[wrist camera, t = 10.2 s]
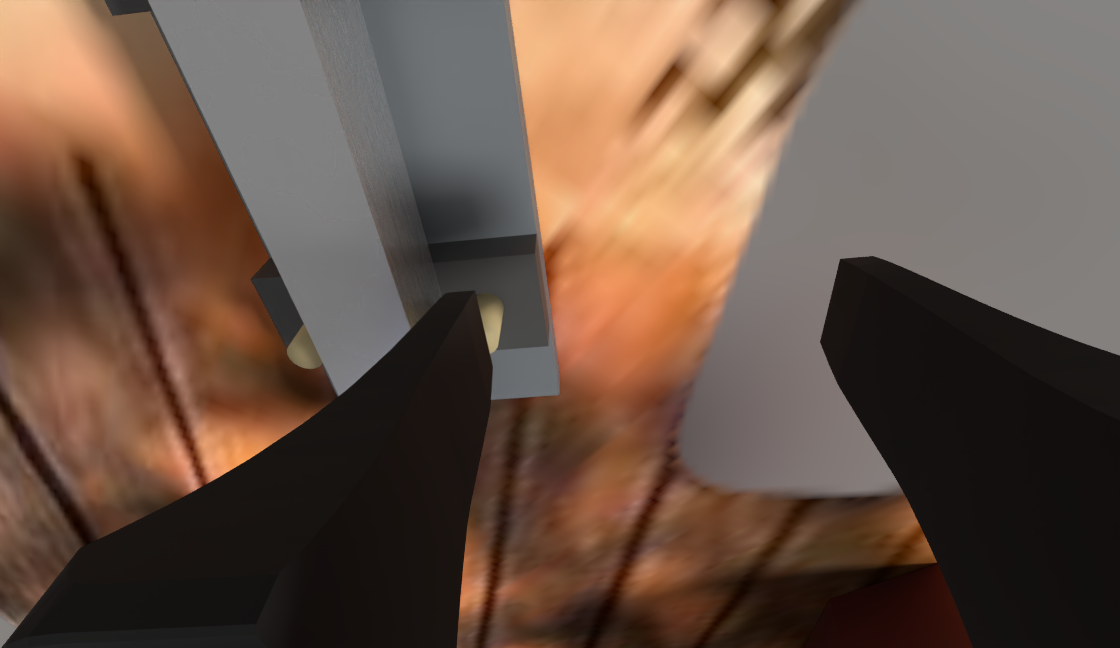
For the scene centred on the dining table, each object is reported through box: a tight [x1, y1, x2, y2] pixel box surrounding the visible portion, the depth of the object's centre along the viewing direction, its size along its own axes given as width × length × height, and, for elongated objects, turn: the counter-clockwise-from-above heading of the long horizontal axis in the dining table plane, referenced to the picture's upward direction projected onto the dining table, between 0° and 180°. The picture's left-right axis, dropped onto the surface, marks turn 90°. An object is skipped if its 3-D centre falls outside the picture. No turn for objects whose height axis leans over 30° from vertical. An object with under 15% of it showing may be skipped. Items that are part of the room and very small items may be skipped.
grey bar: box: [148, 0, 442, 396], centre depth 14 cm, size 24×4×4 cm, turn 6°
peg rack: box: [105, 0, 560, 400], centre depth 16 cm, size 24×10×5 cm, turn 6°
